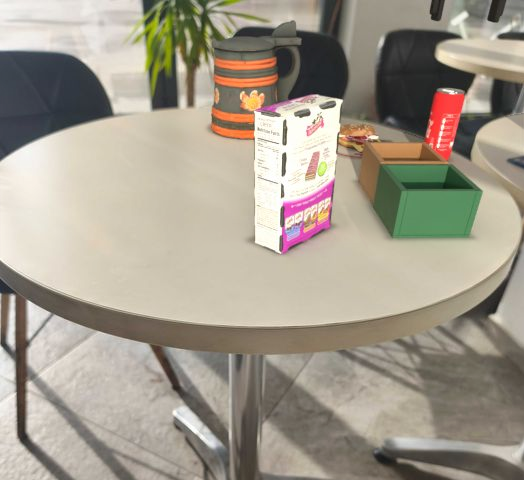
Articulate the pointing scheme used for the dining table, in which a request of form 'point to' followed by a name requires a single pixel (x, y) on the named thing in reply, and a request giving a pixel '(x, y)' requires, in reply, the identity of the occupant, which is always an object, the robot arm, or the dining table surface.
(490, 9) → the robot arm
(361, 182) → the paper bin
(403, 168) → the bin
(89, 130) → the dining table surface
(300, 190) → the candy bar box
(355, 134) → the hamburger
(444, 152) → the beverage can
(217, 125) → the beer stein
